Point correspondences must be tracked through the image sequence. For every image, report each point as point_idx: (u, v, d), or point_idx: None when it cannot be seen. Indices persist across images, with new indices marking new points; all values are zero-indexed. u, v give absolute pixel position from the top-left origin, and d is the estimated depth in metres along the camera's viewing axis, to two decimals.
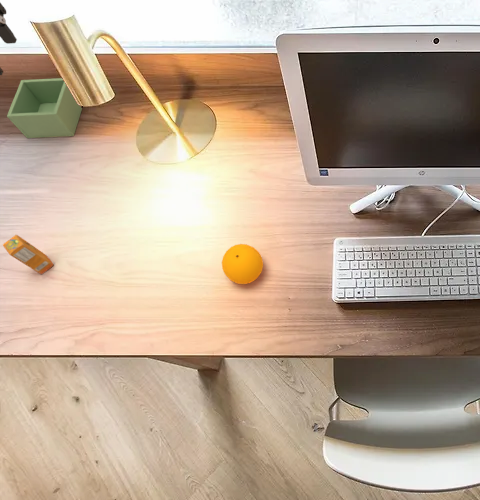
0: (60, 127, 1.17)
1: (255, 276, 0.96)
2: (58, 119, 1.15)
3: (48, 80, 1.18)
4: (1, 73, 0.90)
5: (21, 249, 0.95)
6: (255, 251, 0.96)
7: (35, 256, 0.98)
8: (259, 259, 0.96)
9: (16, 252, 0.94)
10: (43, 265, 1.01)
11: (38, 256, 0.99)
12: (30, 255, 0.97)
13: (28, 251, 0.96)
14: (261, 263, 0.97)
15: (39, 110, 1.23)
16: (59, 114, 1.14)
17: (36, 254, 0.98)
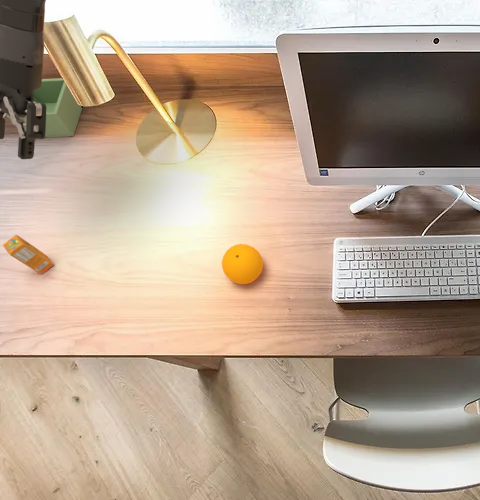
0: (60, 127, 1.17)
1: (255, 276, 0.96)
2: (58, 119, 1.15)
3: (48, 80, 1.18)
4: (32, 156, 0.85)
5: (21, 249, 0.95)
6: (255, 251, 0.96)
7: (35, 256, 0.98)
8: (259, 259, 0.96)
9: (16, 252, 0.94)
10: (43, 265, 1.01)
11: (38, 256, 0.99)
12: (30, 255, 0.97)
13: (28, 251, 0.96)
14: (261, 263, 0.97)
15: None
16: (59, 114, 1.14)
17: (36, 254, 0.98)
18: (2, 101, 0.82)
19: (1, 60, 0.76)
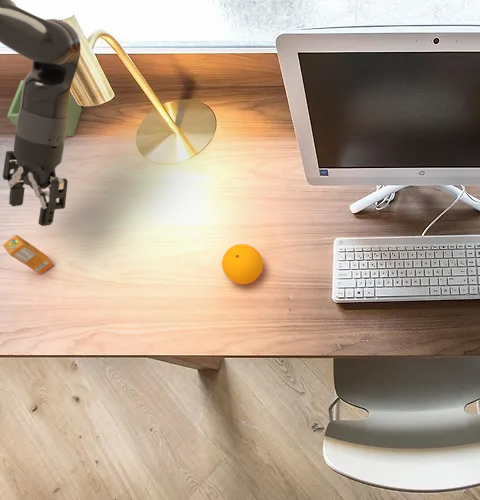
0: None
1: (255, 276, 0.96)
2: None
3: None
4: (51, 223, 0.94)
5: (21, 249, 0.95)
6: (255, 251, 0.96)
7: (35, 256, 0.98)
8: (259, 259, 0.96)
9: (16, 252, 0.94)
10: (43, 265, 1.01)
11: (38, 256, 0.99)
12: (30, 255, 0.97)
13: (28, 251, 0.96)
14: (261, 263, 0.97)
15: None
16: None
17: (36, 254, 0.98)
18: (25, 175, 0.91)
19: (30, 143, 0.86)
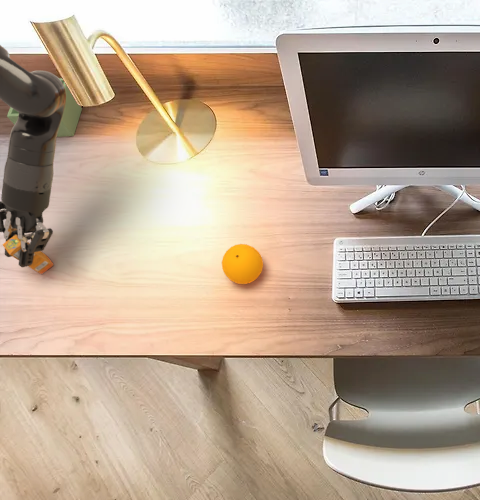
0: (60, 127, 1.17)
1: (255, 276, 0.96)
2: None
3: None
4: (31, 263, 0.97)
5: None
6: (255, 251, 0.96)
7: (35, 256, 0.98)
8: (259, 259, 0.96)
9: (15, 252, 0.94)
10: (43, 265, 1.01)
11: (38, 256, 0.99)
12: None
13: None
14: (261, 263, 0.97)
15: None
16: None
17: (36, 254, 0.98)
18: (13, 219, 0.93)
19: (17, 191, 0.88)
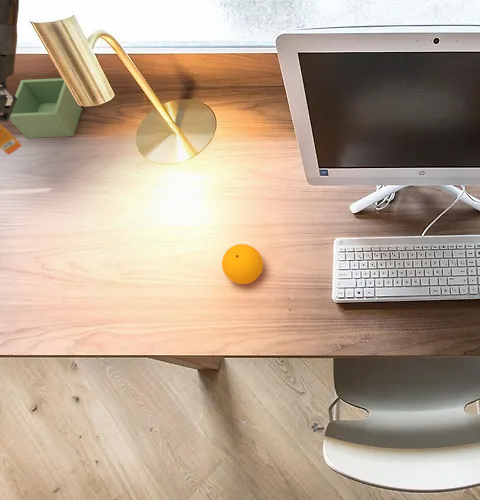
0: (60, 127, 1.17)
1: (255, 276, 0.96)
2: (58, 119, 1.15)
3: (48, 80, 1.18)
4: None
5: None
6: (255, 251, 0.96)
7: (1, 131, 0.96)
8: (259, 259, 0.96)
9: None
10: (10, 144, 0.98)
11: (4, 131, 0.96)
12: None
13: None
14: (261, 263, 0.97)
15: (39, 110, 1.23)
16: (59, 114, 1.14)
17: (2, 128, 0.96)
18: None
19: None
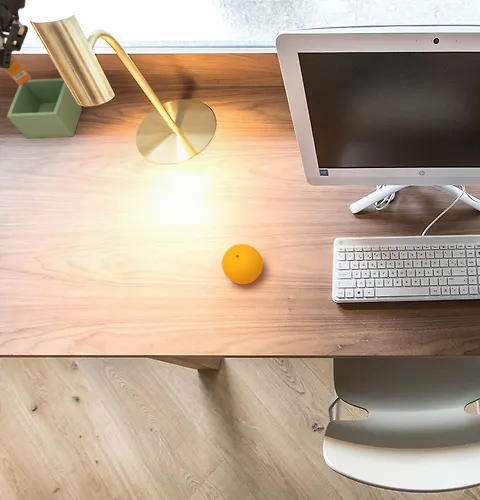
0: (60, 127, 1.17)
1: (255, 276, 0.96)
2: (58, 119, 1.15)
3: (48, 80, 1.18)
4: (9, 66, 1.04)
5: None
6: (255, 251, 0.96)
7: (13, 61, 1.05)
8: (259, 259, 0.96)
9: None
10: (21, 75, 1.08)
11: (16, 62, 1.06)
12: None
13: None
14: (261, 263, 0.97)
15: (39, 110, 1.23)
16: (59, 114, 1.14)
17: (14, 59, 1.05)
18: None
19: None
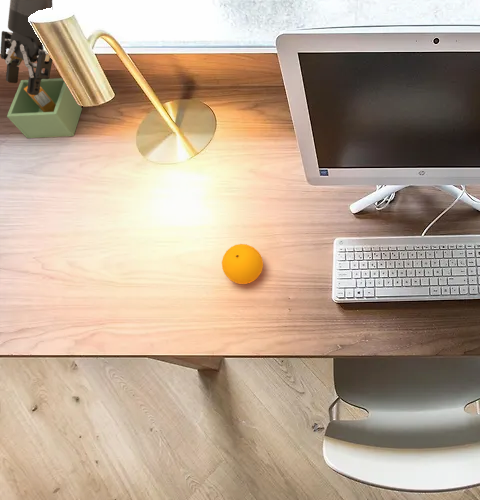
0: (60, 127, 1.17)
1: (255, 276, 0.96)
2: (58, 119, 1.15)
3: (48, 80, 1.18)
4: (38, 93, 1.11)
5: (40, 92, 1.13)
6: (255, 251, 0.96)
7: (50, 102, 1.17)
8: (259, 259, 0.96)
9: None
10: None
11: (53, 103, 1.17)
12: (47, 100, 1.16)
13: (45, 96, 1.15)
14: (261, 263, 0.97)
15: (39, 110, 1.23)
16: (59, 114, 1.14)
17: (51, 101, 1.17)
18: (18, 48, 1.08)
19: (21, 15, 1.03)
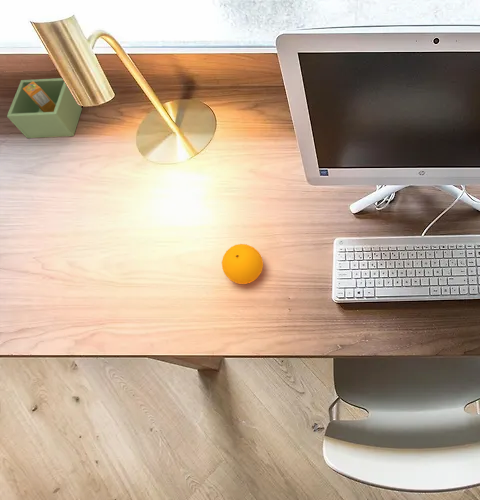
0: (60, 127, 1.17)
1: (255, 276, 0.96)
2: (58, 119, 1.15)
3: (48, 80, 1.18)
4: None
5: (38, 91, 1.13)
6: (255, 251, 0.96)
7: (49, 102, 1.17)
8: (259, 259, 0.96)
9: (34, 94, 1.13)
10: None
11: (52, 103, 1.17)
12: (46, 100, 1.16)
13: (44, 95, 1.15)
14: (261, 263, 0.97)
15: (39, 110, 1.23)
16: (59, 114, 1.14)
17: (50, 100, 1.17)
18: None
19: None
